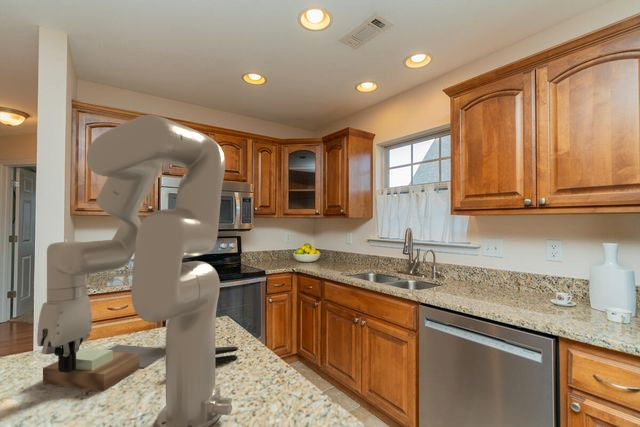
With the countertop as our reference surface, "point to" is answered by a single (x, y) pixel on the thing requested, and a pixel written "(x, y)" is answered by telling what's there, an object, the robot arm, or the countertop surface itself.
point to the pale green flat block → (92, 358)
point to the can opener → (225, 358)
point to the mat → (141, 353)
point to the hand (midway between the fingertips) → (67, 370)
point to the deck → (94, 373)
